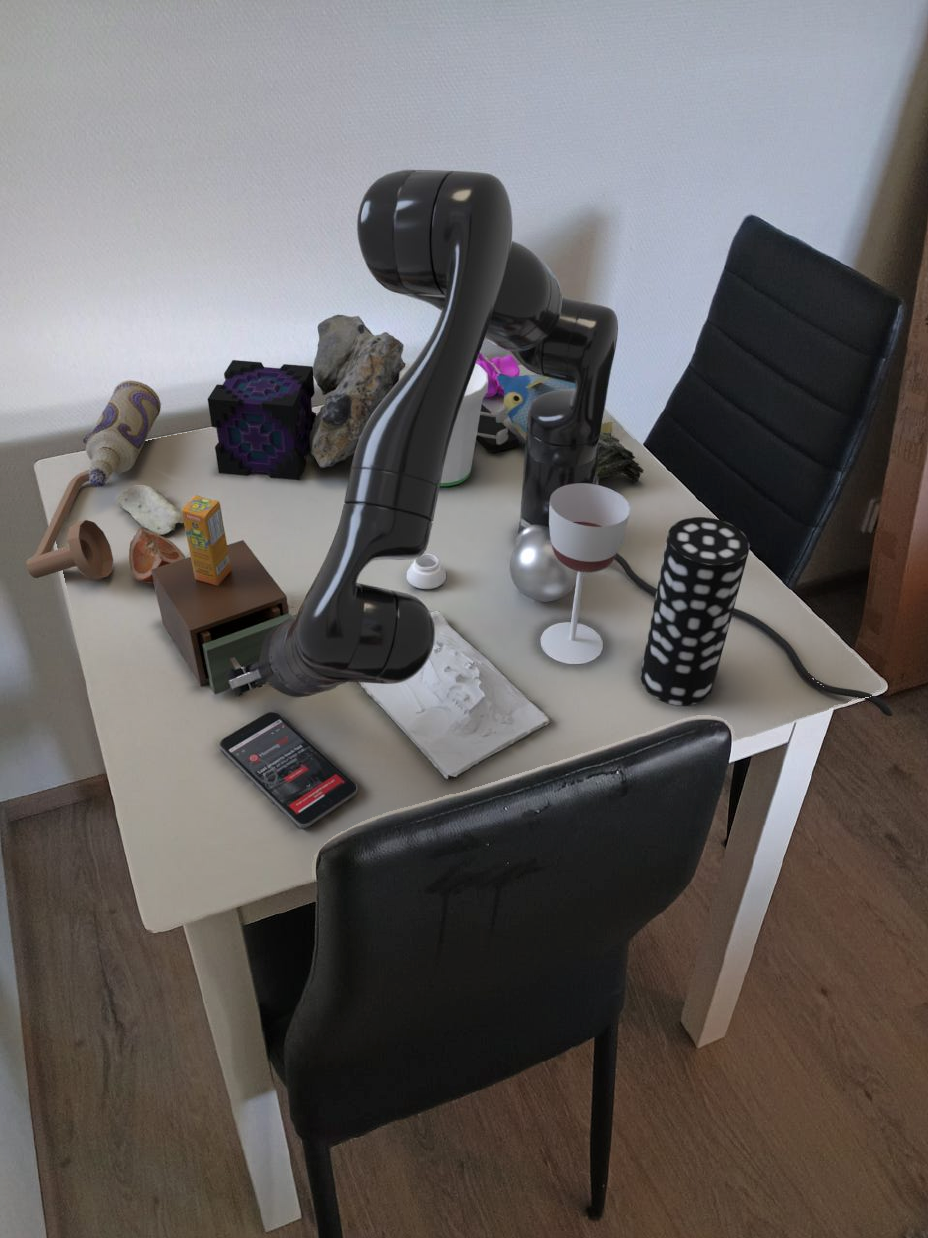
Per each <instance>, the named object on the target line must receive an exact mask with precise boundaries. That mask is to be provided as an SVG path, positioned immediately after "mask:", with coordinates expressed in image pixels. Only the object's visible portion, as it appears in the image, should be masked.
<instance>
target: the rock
mask: <svg viewBox="0 0 928 1238" xmlns="http://www.w3.org/2000/svg"><path fill="white" fill-rule="evenodd" d="M317 333H318V342H317V350H316V355H315V358H314V361H313V365H312V366H313V378H314V381H315V382H316V385H317V387H318V388H319V389H320V390H321V394H322V396H326V395H327V394H329V393H331V392H333V393H332V394H331V395H329V396H327V397H326V399H325V403H324V404H323V406H321V407H320V409H319V411H318V413H316V417H315V420H314V423H313V428H312V430H311V432H310V437H309V439H310V452H309V453H310V456H311V457H313V458H315V460H316V462H317V464H318V465H319V468H327V467H332V466H334V465H335V464H336V463H339V462H341V461H345V460H346V459H347V458H348V457H351V456H353V455H354V453H355V449H356V445H357V443H358V440H359V438H360V435H361V433H362V431H363V429H364V427H365V425H366V423H367V421H368V420H369V418H370V416H371V415H372V413H373V412H374V411H375V409H376V408H377V406H378V405H379V404H380V403H381V401H382V400H383V399H384V398H385V397H386V395H387V394H388V393H389V392H390V390H391V389H392V388H393V387H394V386H395V385H396V383H397V382H398V381H399V372H400V371H401V370H402V369H403V368H404V367H405V366H406V365H407V364H406V362H405V361H404V360H403V358H402V356H403V351H404V346H405V345H404V344H403V343H402V341H400V340H399V339H397V338H395V336H394V335H391V334H390V333H389V332H387V331H384V332H382V333H380V334H376V335H375V334H373V333H372V331H371V330H370V329H369V328H368V327H367V326H366V324H365V323H364V321H363V320H362V318H361V317H360V316H359V315H355V316H350V315H349V316H348V315H344V314H334V315H333V316H331V317H328V318H326V319H324V320H323V321H321V322H320V323H318V325H317Z"/></svg>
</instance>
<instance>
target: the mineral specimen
mask: <svg viewBox="0 0 928 1238" xmlns="http://www.w3.org/2000/svg"><path fill="white" fill-rule="evenodd" d="M635 458H636V456H635V455H634V452H632V451H631V450H629V449H627V448H625V446H624V445H623V444H622V443H620V439H619V438H617V437H615V436H612V433H601V434H600V441H599V449H598V457H597V465H596V473H595V476H597V477H598V478H599V479H604V478H608V477H612V476H614V475H618V474H623V475H624V476H625V477H627V479H630V480H631V481H632V482H633V483H639V479H640V478H641V475H642V474H643V473H644V469H643V468H642V467H641V466H639V463H638V462H637V461H635V460H634V459H635Z"/></svg>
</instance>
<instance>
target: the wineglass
mask: <svg viewBox="0 0 928 1238" xmlns="http://www.w3.org/2000/svg"><path fill="white" fill-rule="evenodd" d="M630 513H631V506H630V504H629V502H628V501H627V499H626V498H625V497H624V496H623V495H622V494H620V493H619V492H617V491H615V490H613V489H611V488H609V487H606V486H603V485H600V484H598V485H595V484H587V483H576V484H569V485H565V486H562V487H560V488H558V489H557V490H555V491H554V492H553V493H552V495H551V497H550V506H549V529H550V538H551V545H552V549H553V552H554V554H555V556H556V557H557V559H558V560H559V561H560V562H561V563H563V564H564V565H565V566H567V567H568V568H570V569H573V570H576V571H578V572H577V580H576V585H575V587H574V588H575V589H574V597H573V603H572V612H571V620H570V622H569V621H565V622H557V623H555V624H552V625H549V626H548V627H547V628H546V629H545V630H544V631H543V632H542V634H541V636H540V642H539V643H540V647H541V649H542V651H543V652H544V653H545V654H546V655H547V656H548V657H549V658H552V659H553V660H554V661H557V662H560V663H563V664H567V665H582V664H587V663H590V662H592V661H594V660H596V659H597V658H598V657H599V656H600V655H601V653H602V652H603V649H604V642H603V639H602V638H601V635H600V634H599V633H598V632H596V630H594V629H593V628H592V627H589V626H587V625H586V624H582V623H579V616H580V615H579V614H580V607H581V600H582V592H583V584H584V576H585V573H597V572H600V571H602V570H605V569H606V568H608V567H609V566H610V565H611V564H612V563H613V562H614V561H615V557H616V555H617V553H618V552H619V550H620V547H621V545H622V543H623V539H624V536H625V533H626V531H627V530H626V529H627V526H628V522H629V517H630ZM618 554H619V553H618Z"/></svg>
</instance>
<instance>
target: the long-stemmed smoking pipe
mask: <svg viewBox="0 0 928 1238" xmlns="http://www.w3.org/2000/svg"><path fill="white" fill-rule="evenodd" d="M88 482H90V481H89V469H87V470H84V471H82V472H80V473H78V474H77V475H75V476H74V477H72V478H71V480H70V481H69V483H68V485H67V487H66V489H65V490H64V492H63V495H62V497H61V499H60V501H59V503H58V505H57V507H56V510H55V512H54V514H53V516H52V518H51V520H50V523H49V525H48V526H47V529H46V531H45V533H44V535H43V536H42V539H41V541H40V544H39V546H38V548H37V550H36V552H35V553H34V555H33V556H31V557H29V558H28V559H27V560H26V570H27V572H28V573H29V575H30V576H31V578H33V579H38V578H39V579H40V578H42V577H45V576H49V575H51V574H55V573H58V572H61V571H65V570H68V569H72V568H74V567H76V568H77V569H78V571H79V572H81V574H83V575H84V576H85V578H87V579H89V580H93V581H98V580H101V579H104V578H108V577H109V576H110V574H111V573H112V572H113V567H114V557H113V552H112V548H111V545H110V542H109V540H108V537H106V535H105V532H104V531H103V529H101V527H99V525H98V524H97V523H96V522H95V521H92V520H88V519H84V520H81V521H77V522H75V523H74V524H73V525H71V526H70V527H69V528H68V535H67V544H68V546H64V547H61V548H58V549H55V550H53V547H54V546H55V545H56V544H55V543H56V541H57V539H58V537H59V535H60V532H61V530H62V528H63V526H64V524H65V521H66V520H67V517H68V515H69V513H70V511H71V508H72V506H73V504H74V502H75V499H76V497H77V495H78V493H79V490H80V489H81V487H82V486H83V485H84V484H85V483H88Z"/></svg>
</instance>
